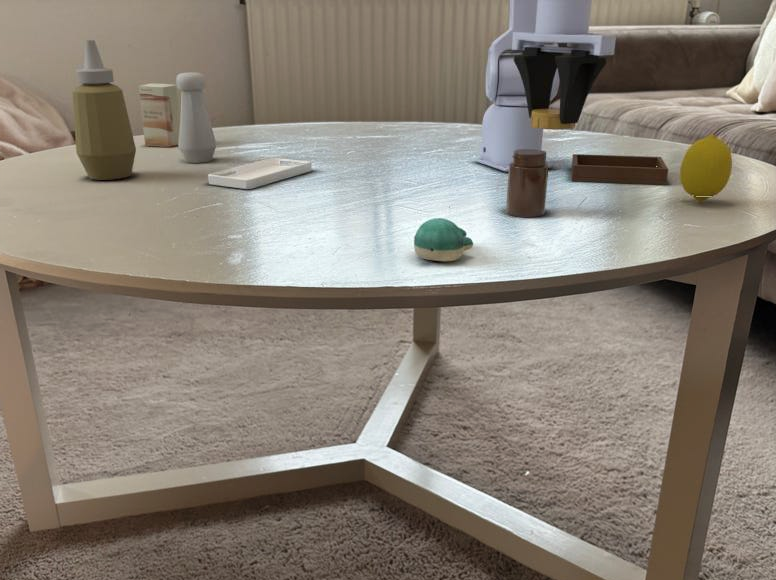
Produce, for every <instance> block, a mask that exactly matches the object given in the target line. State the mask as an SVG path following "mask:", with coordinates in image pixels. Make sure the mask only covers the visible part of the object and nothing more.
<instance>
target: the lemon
mask: <svg viewBox="0 0 776 580" xmlns="http://www.w3.org/2000/svg"><path fill="white" fill-rule="evenodd" d="M732 158H733V157H732V154H731V150H730V147H729V146H728V144H726V143H725V142H724V141H723V140H721V139H719V138H718V137H717V136H716V135H715V134H708V135H707V136H706V137H704V138H701V139H698V140H696V141H695V142H693V143H692V144H691V145H690V146H689V148H688V149H687V150H686V152H685V154H684V157H683V159H682V161H681V165H680V171H679V179H680V184H681V186H682V188H683V190H684V191H685V193H686V194H688V195H689V194H690V195H689V196H691V197H693V198H694V200H695V201H696V203H699V204H702V203H704V202H705V201H706V200H708V199H709V198H711V197H696V196H712V197H715V196H716V195H718V194H719V193H721V192H722V191H723V190H724V189H725V188H726V186H727V185H728V182H729V180H730V178H731V173H732V168H733V159H732ZM692 195H694V196H692ZM714 195H715V196H714Z"/></svg>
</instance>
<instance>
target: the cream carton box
mask: <svg viewBox="0 0 776 580" xmlns="http://www.w3.org/2000/svg"><path fill="white" fill-rule="evenodd" d="M138 91H139V101H140V109H141V119H142V129H143V130H142V131H143V135H144V136H143V138H144V145H145V146H147V147H148V146H149V147H159V148H161V147H162V148H171V147H174V146H178V143H179V130H180V112H179V111H180V110H179V101H178V100H179V99H178V88H177V84H170V83H152V82H151V83H146V84H140V85H138Z"/></svg>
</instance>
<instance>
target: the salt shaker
mask: <svg viewBox="0 0 776 580" xmlns="http://www.w3.org/2000/svg"><path fill="white" fill-rule="evenodd" d="M175 78H176V80H175V81H176V82H175V83H176V87H177V90H180V91H181V96H180V98H181V99H180V115H179V121H180V130H179V143H178V145H177V146H178V150H179V152H180V153H181V155H182V157H183V159H184V160H185V162H186V163H190V164H191V163H192V164H201V163H209V162H211V161H212V160H213V158H214V154H215V152H216V148H217V141H216V138H215V133H214V130H213V126H212V123H211V118H210V114H209V111H208V107H207V104H206V100H205V97H204V93H203V90H204V89H205V88H206V78H205V76H204V75H203V74H202V73H200V72H195V71H193V72H192V71H191V72H189V71H188V72H181V73H178V74H177V76H176V77H175Z"/></svg>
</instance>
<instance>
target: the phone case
mask: <svg viewBox="0 0 776 580" xmlns="http://www.w3.org/2000/svg"><path fill="white" fill-rule="evenodd" d="M281 162H291V163H301V164H297V165H294V166H293V165H286V164H285V165H284V164H281ZM312 165H313V164H312V161H309V160H300V159H289V158H282V157H281V158H278V157H270V158H266V159H262V160H258V161H255V162H250V163H245V164H243V165H239V166H235V167H234V166H233V167H231V168H227V169H223V170H220V171H215V172H212V173H209V174H208V175H207V178H208V185H212V186H220V187H226V188H227V187H229V188H235V189H236V188H237V189H243V190H252V189H255V188H260V187H262V186H265V185H269V184H272V183H276V182H279V181H281V180H282V181H283V180H285V179H289V178H291V177H292V178H293V177H296V176H299V175H302V174H305V173H310V172H312V170H313V168H312ZM232 172H234V173H232ZM228 173H232V174H228ZM223 174H228V175H223Z"/></svg>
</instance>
